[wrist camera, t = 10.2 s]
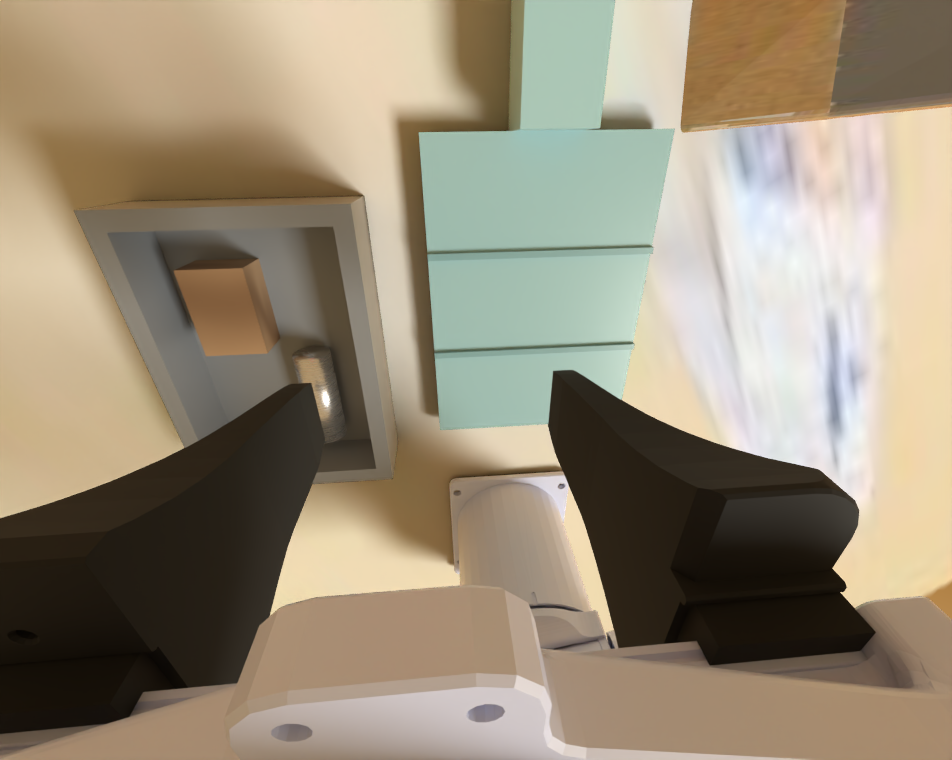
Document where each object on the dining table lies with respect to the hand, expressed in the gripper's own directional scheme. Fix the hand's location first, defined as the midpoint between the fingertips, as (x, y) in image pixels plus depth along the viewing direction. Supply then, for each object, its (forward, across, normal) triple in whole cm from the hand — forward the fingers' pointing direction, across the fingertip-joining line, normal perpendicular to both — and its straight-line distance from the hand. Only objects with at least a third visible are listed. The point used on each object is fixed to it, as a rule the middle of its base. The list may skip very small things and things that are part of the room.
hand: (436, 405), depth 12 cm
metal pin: (+9, +6, +4) cm, 12 cm away
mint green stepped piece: (+10, -5, -2) cm, 11 cm away
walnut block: (+9, +10, 0) cm, 13 cm away
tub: (+10, +8, +2) cm, 13 cm away
